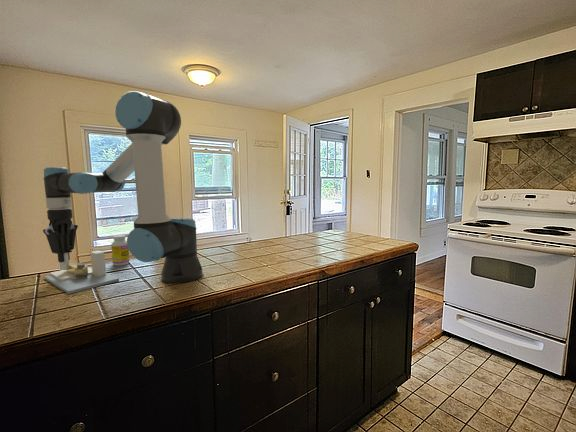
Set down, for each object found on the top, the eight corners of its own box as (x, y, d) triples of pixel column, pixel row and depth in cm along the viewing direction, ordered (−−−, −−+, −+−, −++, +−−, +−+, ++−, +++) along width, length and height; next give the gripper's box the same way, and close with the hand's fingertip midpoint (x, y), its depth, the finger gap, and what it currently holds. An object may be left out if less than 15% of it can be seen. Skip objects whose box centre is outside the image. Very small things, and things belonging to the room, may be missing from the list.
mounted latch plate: (119, 280, 112) (117, 254, 111) (68, 294, 99) (65, 264, 98) (90, 268, 128) (88, 245, 127) (44, 278, 115) (41, 253, 114)
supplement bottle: (122, 266, 131) (120, 237, 129) (109, 265, 132) (106, 237, 130) (133, 262, 137) (131, 234, 136) (120, 261, 139) (118, 234, 137)
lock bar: (90, 274, 113) (89, 267, 113) (78, 277, 110) (77, 270, 110) (74, 268, 121) (74, 261, 121) (63, 270, 118) (62, 264, 118)
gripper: (52, 210, 106) (58, 275, 109) (82, 207, 119) (87, 265, 121) (34, 210, 107) (40, 274, 110) (65, 207, 120) (70, 264, 122)
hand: (65, 269), depth 116 cm, fingers closed
